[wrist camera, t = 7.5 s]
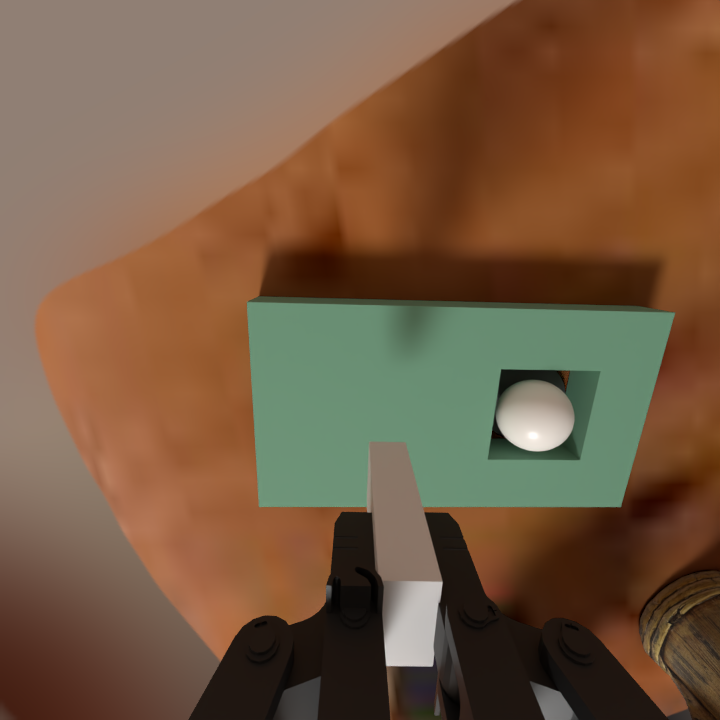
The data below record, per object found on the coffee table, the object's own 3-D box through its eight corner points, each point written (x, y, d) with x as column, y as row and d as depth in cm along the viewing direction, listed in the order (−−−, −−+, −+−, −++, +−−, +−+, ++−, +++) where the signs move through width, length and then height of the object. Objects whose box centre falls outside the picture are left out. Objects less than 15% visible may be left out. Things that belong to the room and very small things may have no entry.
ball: (597, 388, 19) (550, 400, 17) (582, 455, 20) (535, 473, 18) (531, 367, 22) (485, 375, 20) (520, 425, 23) (476, 438, 22)
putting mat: (637, 306, 21) (675, 312, 19) (593, 482, 24) (620, 506, 22) (258, 296, 20) (246, 302, 18) (268, 481, 23) (259, 506, 21)
